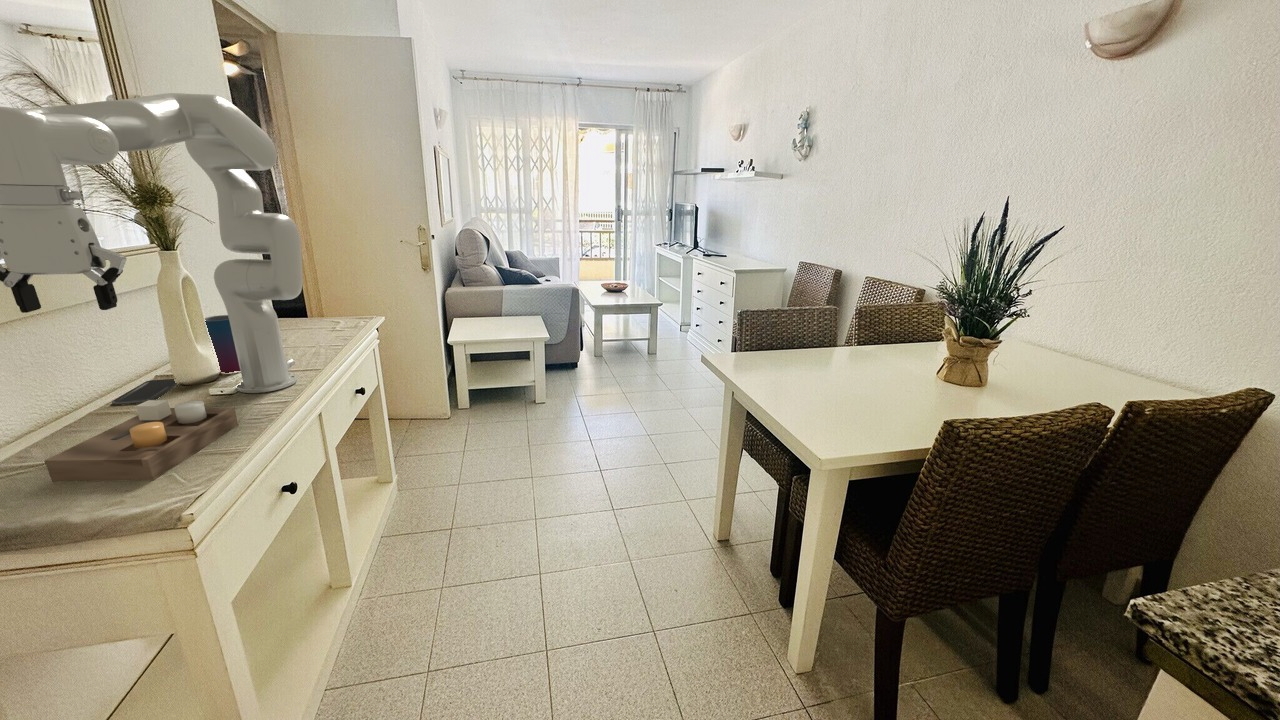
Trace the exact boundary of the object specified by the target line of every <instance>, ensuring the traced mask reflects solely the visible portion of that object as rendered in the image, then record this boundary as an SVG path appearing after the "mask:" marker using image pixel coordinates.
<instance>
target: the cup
mask: <svg viewBox="0 0 1280 720" xmlns="http://www.w3.org/2000/svg"><path fill="white" fill-rule="evenodd" d="M204 318H205V320H206V321H205V322H206V325H207V328H208V332H209V335H210V337H211V340H212V343H213V346H214V349H215V352H216V355H217V358H218V362H219V366H220V370H221V372H225V373H229V372H234V371H241V370H240V366H239V362H238V357H237V353H236V348H235V344H234V340H233V335H232V331H231V326H230V321H229V317H228V314H222V315H221V314H220V315H213V316H208V317H204Z"/></svg>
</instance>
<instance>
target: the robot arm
mask: <svg viewBox="0 0 1280 720" xmlns="http://www.w3.org/2000/svg"><path fill="white" fill-rule="evenodd" d="M182 142H184V143H185V145H184V146H185V147H186V150H187V153H188V154H189V156H190V157H191V159H192V160H193V161H194V162H195V163H196V164H197V165H198V166H199V167H200V168H201V169H202V170H203V172H205V174H206V175H207V177H208V178H209V179H210V181H211V182H212V184H213V186H214V189H215V191H216V196H217V209H218V210H217V211H218V212H217V213H218V223H219V224H218V225H219V234H220V235H219V236H220V240H221V243H222V245H223V247H224V248H226V249H227V250H228V251H230V252H233V253H239V254H254V255H256V254H259V255H260V254H262V255H270V256H269V257H270V259H257V258H256V259H255V258H249V259H248V258H247V259H246V258H240V259H239V258H235V259H228V260H225V261H223V262H220V263H219V264H218V265H217V266H216V268H215V270H214V273H213V279H214V284H215V287H216V289H217V291H218V293H219V295H220V297H221V299H222V302H223V304H224V307H225V309H226V314H227V315H228V317H229V321H230V326H231V331H232V335H233V340H234V344H235V348H236V353H237V357H238V362H239V366H240V370H241V372H240V374H241V380H243V382H241V385H238V386H237V389H238V390H237V389H236V390H237V391H238V392H240V393H244V394H245V393H247V394H259V393H260V394H261V393H267V392H268V393H269V392H274V391H278V390H282V389H285V388H288V387H290V386H292V385H294V384H296V382H297V380H298V379H297V375H296V374H295V373H291V372H289V370H290V368H292V367H293V366H295V365H296V361H295V360H293V359H292V358H289V359H288V360H286V355H285V354H286V353H285V349H284V345H283V339H282V335H281V334H282V333H281V329H280V324H279V319H278V318H279V317H278V315H277V312H276V311H275V309H274V307H273V306H272V305H271V303H269V302H268V301H279V300H280V301H287V300H288V301H289V300H293V299H296V298H298V296H299V295H300V294H301V293H302V289H303V282H304V280H303V258H302V257H303V255H302V254H303V253H302V241H301V235H300V231H299V229H298V226H297V224H296V222H295V221H294V220H293V219H292V217H289V216H287V215H286V214H282V213H278V212H276V213H275V212H265V211H264V210H265V209H264V201H263V194H262V190H261V189H260V187H259V185H258V184H257V182H256V181H255V180H254V179H253V178H252V177H251V176H250V175H249V173H247V172H246V171H259V172H260V171H261V172H262V171H267V170H270V169H272V168H273V167H274V166H275V165H276V163H277V160H278V153H277V149H276V146H275V144H274V142H273V140H272V138H270V136H269V135H268V134H267V133H266V132H265V131H264V130H263V129H262V128H261V127H259V126H258V125H257V123H256V122H254V121H253V120H252V119H251V118H250V117H249V116H248V115H246V113H244V112H243V111H242V110H240V108H238V107H237V106H235V104H233V103H232V102H230V101H229V100H228V99H225V98H223V97H221V96H219V95H215V94H201V93H185V92H184V93H183V92H182V93H181V92H177V93H175V92H167V93H166V92H165V93H159V94H153V95H147V96H140V97H133V98H132V97H130V98H124V99H115V100H105V101H93V102H86V103H85V102H83V103H78V104H77V103H75V104H64V105H52V106H51V105H50V106H41V107H33V108H19V107H11V106H9V107H8V106H0V261H1V260H3V261H4V263H5V267H6V268H4V267H3V266H2V264H1V263H0V282H2V283H3V285H4V286H5V287H7V288H10V289H11V293H12V295H13V298H14V300H15V301H14V302H15V304H16V305H17V306H18V307H19V311H20V312H21V313H22V314H23V313H24V314H25V313H26V314H27V313H31V312H35V311H38V310H40V309H41V308H42V305H41V302H40V299H39V297H38V293H37V291H36V287H35V285H33V283H28V282H30V280H31V279H32V277H33V276H34V275H35V276H36V275H40V276H41V275H47V276H48V275H80V274H81V275H82V274H83V275H84V276H86V277H87V278H89V279H90V280H91V281H93V282H94V284H95V283H96V285H94V286H93V287H92V289H93V291H94V295H95V299H96V301H97V304H98V308H99V309H100V310H101V311H107V310H111V309H114V308H116V307H117V306H118V305H117V304H118V297H117V293H116V290H115V286H114V283H116V282H117V281H116V280H117V279H118V277H120V276H121V274H123V272H124V270H123V269H124V268H125V265H126V262H127V257H126V256H125V255H123V254H120V253H118V252H115V251H112V250H109V249H107V248H104V247H102V246H101V244H100V241H99V239H98V236H97V234H96V232H95V229H94V228H93V225H92V224H91V222H90V220H89V218H88V216H87V215H86V212H85V211H84V209H82V207H75V206H74V205H75V201H81V199H82V195H81V193H80V192H79V191H77V190H72V189H71V188H70V186H68V183H67V179H66V176H65V173H64V169H63V165H71V166H99V165H104V164H108V163H110V162H112V161H113V160H114V159H115V158H116V157H117V156H118V155H119V152H141V151H142V152H143V151H151V150H156V149H160V148H163V147H168V146H170V145H175V144H179V143H182ZM106 261H109V267H108V269H107V270H106V269H105V268H106V266H107V262H106Z"/></svg>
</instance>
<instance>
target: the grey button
mask: <svg viewBox="0 0 1280 720" xmlns="http://www.w3.org/2000/svg"><path fill="white" fill-rule="evenodd" d="M173 408H174V409H175V413H176V417H177V420H178V423H181V424H187V423H194V422H198V421H201V420H203V419H205V418H206V417H207V415H206V411H205V408H206V406H205V403H204V401H203V400H190V401H184V402H181V403H178V404H176V405H174V407H173Z"/></svg>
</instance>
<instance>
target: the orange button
mask: <svg viewBox="0 0 1280 720" xmlns="http://www.w3.org/2000/svg"><path fill="white" fill-rule="evenodd" d="M129 431H130V434H131V438H132V441H133V444H134V447H136V448H147V447H152V446H156V445H159V444H161V443H163V442H165V441H166V440H167V436H166V432H165V429H164V425H163V423H162V422H149V423H144V424H140V425H137V426H134V427H132V428H131V429H130V430H129Z"/></svg>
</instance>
